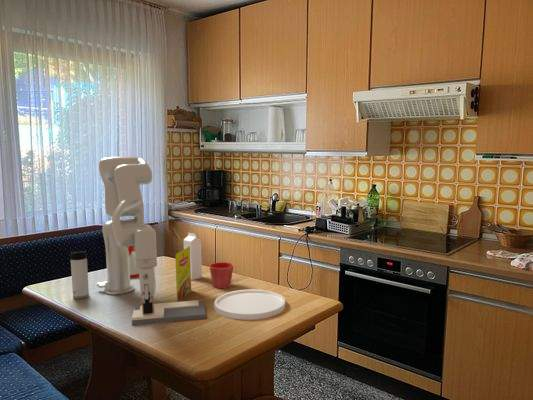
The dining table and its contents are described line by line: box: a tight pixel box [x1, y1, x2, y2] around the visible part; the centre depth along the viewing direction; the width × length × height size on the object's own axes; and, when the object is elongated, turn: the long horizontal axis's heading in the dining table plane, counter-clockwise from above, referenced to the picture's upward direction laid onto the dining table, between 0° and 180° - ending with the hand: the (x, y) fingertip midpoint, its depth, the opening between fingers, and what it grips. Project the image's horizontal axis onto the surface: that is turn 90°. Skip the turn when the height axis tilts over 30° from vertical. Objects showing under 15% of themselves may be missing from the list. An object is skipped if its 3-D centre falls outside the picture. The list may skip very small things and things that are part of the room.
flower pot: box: [208, 261, 234, 289], centre depth 193 cm, size 11×11×10 cm
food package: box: [175, 246, 192, 302], centre depth 179 cm, size 15×1×20 cm, turn 168°
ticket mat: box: [131, 299, 207, 326], centre depth 160 cm, size 26×15×2 cm, turn 102°
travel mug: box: [69, 250, 90, 300], centre depth 180 cm, size 6×7×20 cm
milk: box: [183, 232, 203, 281], centre depth 205 cm, size 6×6×22 cm
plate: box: [213, 288, 286, 321], centre depth 168 cm, size 28×28×2 cm
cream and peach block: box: [131, 294, 164, 321], centre depth 155 cm, size 11×8×7 cm
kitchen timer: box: [127, 245, 139, 279], centre depth 213 cm, size 14×14×15 cm
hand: (148, 310), depth 155 cm, fingers closed on cream and peach block, 3 cm apart
